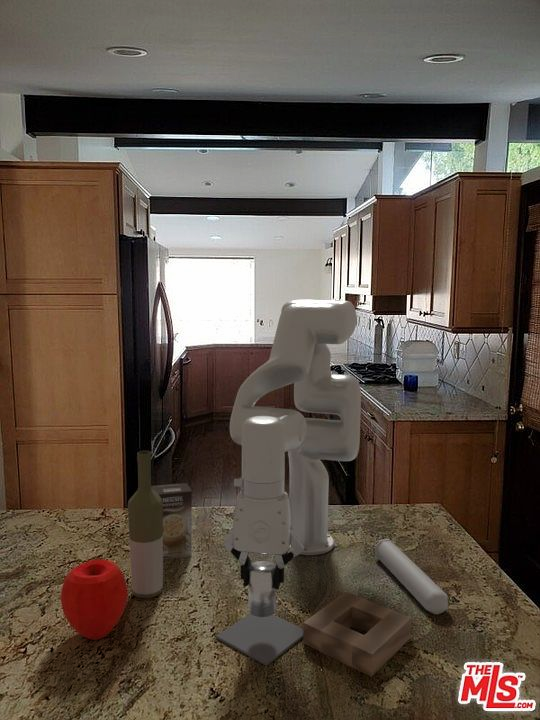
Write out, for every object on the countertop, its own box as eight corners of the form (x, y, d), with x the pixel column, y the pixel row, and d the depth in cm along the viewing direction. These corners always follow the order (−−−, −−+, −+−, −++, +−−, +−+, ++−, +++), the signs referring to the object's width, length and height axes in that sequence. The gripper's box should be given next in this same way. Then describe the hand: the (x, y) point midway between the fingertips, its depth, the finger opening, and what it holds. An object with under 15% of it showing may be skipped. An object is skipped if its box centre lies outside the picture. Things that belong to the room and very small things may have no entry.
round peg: (242, 610, 107) (242, 568, 106) (260, 599, 110) (260, 558, 109) (263, 620, 103) (264, 577, 102) (281, 608, 107) (282, 566, 106)
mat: (215, 638, 107) (215, 635, 107) (259, 610, 116) (259, 607, 116) (266, 665, 100) (266, 663, 100) (308, 633, 109) (308, 631, 109)
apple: (76, 613, 115) (73, 548, 113) (136, 615, 114) (134, 549, 113) (51, 651, 103) (48, 579, 101) (118, 653, 103) (116, 581, 101)
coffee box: (153, 562, 136) (151, 495, 134) (149, 550, 142) (148, 485, 140) (192, 556, 139) (191, 490, 137) (187, 544, 145) (186, 481, 143)
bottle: (171, 588, 124) (168, 450, 120) (151, 604, 118) (147, 459, 114) (143, 581, 127) (140, 446, 123) (122, 596, 121) (118, 454, 117)
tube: (457, 596, 115) (398, 541, 139) (434, 591, 113) (378, 536, 137) (448, 622, 115) (390, 562, 139) (425, 617, 114) (371, 557, 137)
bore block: (303, 643, 106) (303, 622, 105) (345, 610, 116) (345, 591, 116) (371, 677, 97) (372, 654, 96) (410, 638, 108) (411, 617, 107)
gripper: (210, 490, 102) (211, 590, 104) (309, 497, 99) (307, 599, 101) (221, 477, 109) (221, 570, 112) (313, 483, 106) (311, 578, 109)
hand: (262, 583), depth 106 cm, fingers closed on round peg, 5 cm apart
